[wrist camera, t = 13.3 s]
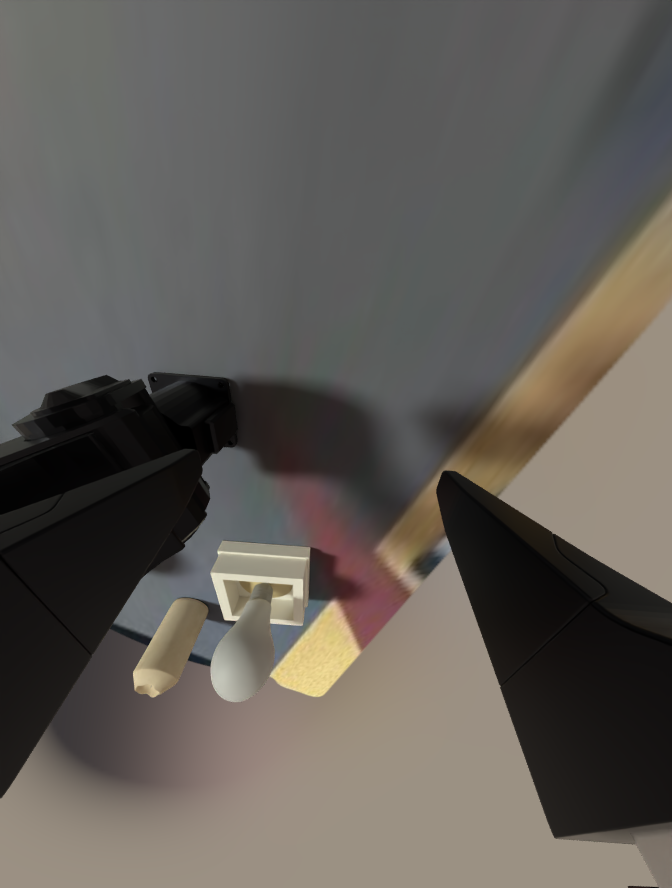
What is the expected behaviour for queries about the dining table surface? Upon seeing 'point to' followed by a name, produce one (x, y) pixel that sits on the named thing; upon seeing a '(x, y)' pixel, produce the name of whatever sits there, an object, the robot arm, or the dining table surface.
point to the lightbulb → (246, 650)
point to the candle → (170, 647)
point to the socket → (263, 578)
